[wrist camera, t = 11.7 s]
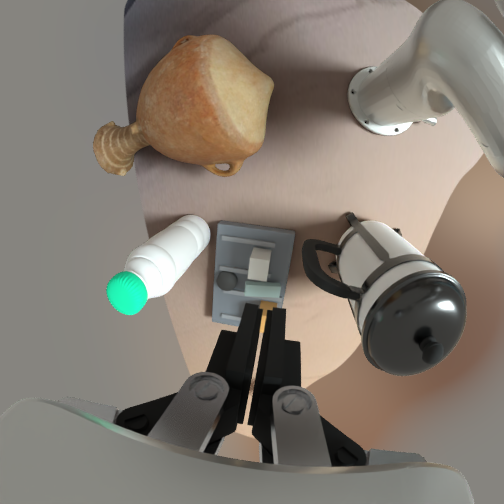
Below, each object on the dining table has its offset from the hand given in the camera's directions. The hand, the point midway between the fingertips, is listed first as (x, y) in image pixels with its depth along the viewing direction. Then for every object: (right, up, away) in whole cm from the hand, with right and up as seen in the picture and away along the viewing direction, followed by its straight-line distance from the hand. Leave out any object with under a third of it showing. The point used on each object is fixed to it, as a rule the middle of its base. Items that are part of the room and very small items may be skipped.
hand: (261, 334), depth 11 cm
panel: (0, -1, +40) cm, 40 cm away
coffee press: (+19, +4, +36) cm, 41 cm away
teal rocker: (+1, -3, +36) cm, 36 cm away
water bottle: (-11, +7, +39) cm, 41 cm away
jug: (-11, +27, +32) cm, 43 cm away
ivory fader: (+1, +2, +36) cm, 36 cm away
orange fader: (+3, -7, +39) cm, 40 cm away
